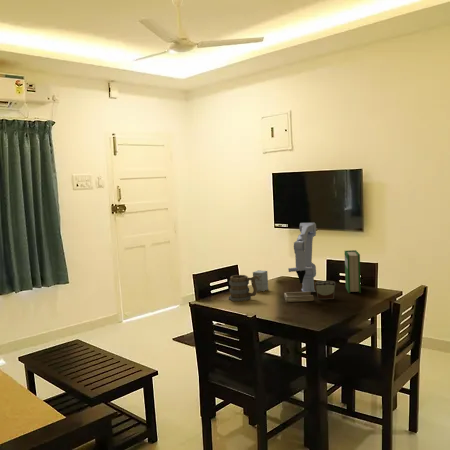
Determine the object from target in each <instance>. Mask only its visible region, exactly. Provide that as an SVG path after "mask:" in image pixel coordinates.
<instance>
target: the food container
mask: <svg viewBox="0 0 450 450" xmlns="http://www.w3.org/2000/svg"><path fill="white" fill-rule="evenodd" d="M336 286H337V284H336V282H335V281H333V280H318V281H316V282H314V287H315V289H316V290H315V291H316V295H317V300H334V299H335V288H336Z"/></svg>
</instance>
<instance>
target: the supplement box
mask: <svg viewBox="0 0 450 450" xmlns="http://www.w3.org/2000/svg"><path fill="white" fill-rule="evenodd" d="M256 275H257V276H259V277H260V279H259V280H258V279H255V285H256V287H257V292H260V291H263V292H265V290H266V291H268V290H269V280H268V279H269V277H268V270H262V269H261V270H255V271H252V277H254V276H256Z"/></svg>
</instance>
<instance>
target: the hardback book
mask: <svg viewBox="0 0 450 450" xmlns="http://www.w3.org/2000/svg"><path fill="white" fill-rule="evenodd" d="M344 277H345V278H344V279H345V289H346V291H347V293H348V294H350V293H351V292H352V293H354V292H355V293H356V292H357V293H359V294H361V293H362V290H361V289H362V283H361V254H360V253H359V252H358V250H356V249H355V250H353V249H352V250H344Z"/></svg>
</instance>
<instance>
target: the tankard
mask: <svg viewBox="0 0 450 450" xmlns="http://www.w3.org/2000/svg"><path fill="white" fill-rule="evenodd" d="M255 279H258V280H259V279H260V277H259V276H257V275H256V276H254V277H253V276H252V277H249V276H247V275H245V274H235V275H231V276H230V277H229V281H228V284H229V286H230V288H229V293H230V295H229V296H228V299H229V300H230V301H232V302H243V301H244V300H245V301H248V300H250V299H251V298H252V297H255V296H256V295H257V293H258V291H257V287H256V285H255ZM250 283H251V286H252V289H253V292H250V288H249V284H250Z"/></svg>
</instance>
